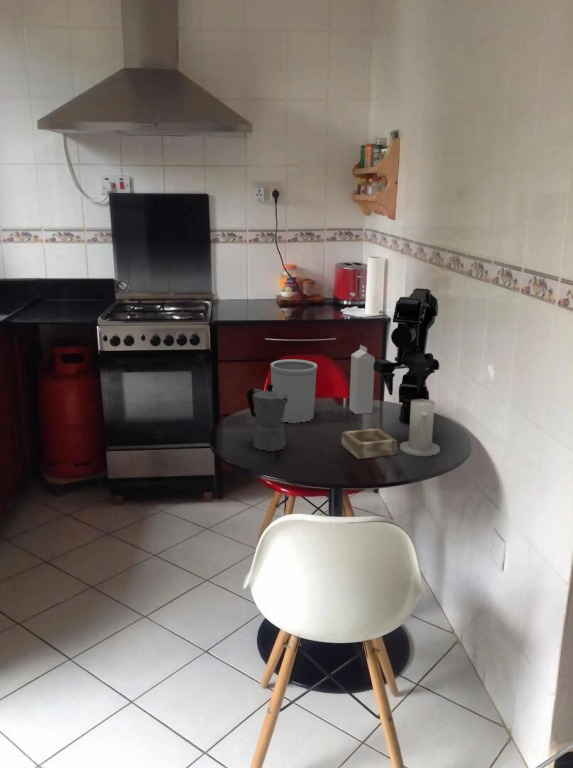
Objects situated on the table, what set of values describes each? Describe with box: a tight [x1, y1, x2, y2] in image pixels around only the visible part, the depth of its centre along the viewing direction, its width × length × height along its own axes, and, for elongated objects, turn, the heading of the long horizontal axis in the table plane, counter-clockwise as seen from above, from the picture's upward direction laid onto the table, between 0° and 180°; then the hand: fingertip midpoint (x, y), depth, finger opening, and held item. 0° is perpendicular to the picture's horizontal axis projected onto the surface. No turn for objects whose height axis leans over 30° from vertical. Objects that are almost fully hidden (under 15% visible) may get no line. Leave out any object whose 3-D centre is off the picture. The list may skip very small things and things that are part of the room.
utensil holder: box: [270, 358, 318, 424], centre depth 214 cm, size 15×15×18 cm
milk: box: [348, 344, 376, 415], centre depth 221 cm, size 6×6×22 cm
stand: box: [340, 427, 398, 460], centre depth 187 cm, size 11×11×4 cm
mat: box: [399, 440, 441, 457], centre depth 188 cm, size 11×11×1 cm
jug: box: [408, 399, 435, 451], centre depth 185 cm, size 9×6×13 cm
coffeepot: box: [245, 383, 289, 452], centre depth 188 cm, size 15×9×18 cm, turn 49°
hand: (404, 393), depth 196 cm, fingers open, 9 cm apart
